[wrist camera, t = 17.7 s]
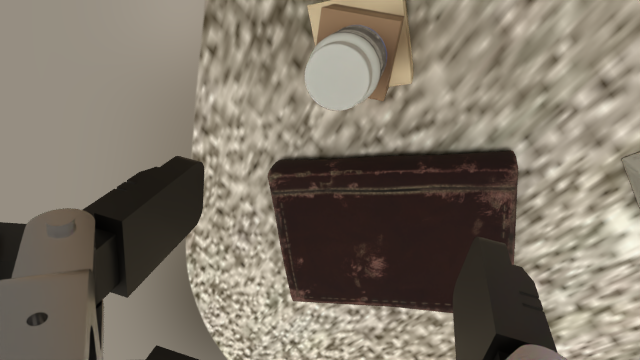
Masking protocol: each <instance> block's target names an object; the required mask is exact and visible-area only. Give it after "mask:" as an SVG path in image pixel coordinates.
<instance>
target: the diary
mask: <svg viewBox="0 0 640 360" xmlns="http://www.w3.org/2000/svg"><path fill="white" fill-rule="evenodd" d="M268 180H269V185H270V190H271V195H272V200H273V205H274V210H275V216H276V222H277V228H278V234H279V240H280V245H281V250H282V255H283V260H284V266H285V271H286V275H287V279H288V284H289V288H290V293H291V297H292V300H293V301H300V302H318V303H336V304H354V305H372V306H391V307H401V308H410V309H419V310H429V311H438V312H448V313H453V293H454V288H455V284H456V281H457V278H458V276H459V273H460V271H461V269H462V266H463V264H464V261H465V259H466V256H467V254H468V252H469V249H470V247H471V244H472V242H473V240H474V239H475V238H476V237H482V238H485V239H489V240H493V241H497V242H500V243H504V244H506V246H507V249H508V253H509V257H510V260H511V264H512V265H514V249H515V226H516V203H517V180H518V165H517V160H516V156H515V154H514V152H513V151H499V152H481V153H464V154H446V155H406V156H374V157H358V158H342V159H314V160H280V161H278V162H276V163H275V164H274V165H273V166H272V168H271V169H270V171H269V173H268Z"/></svg>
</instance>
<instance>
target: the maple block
mask: <svg viewBox="0 0 640 360" xmlns="http://www.w3.org/2000/svg"><path fill="white" fill-rule="evenodd" d="M331 4H340V5H346V6H351V7H357V8H362V9H368V10H374V11H379V12H385V13H390V14H396V15H401V16H405V17H404V21H403V26H402V30H401V34H400V39H399V43H398V48H397V52H396V57H395V61H394V66H393V70H392V75H391V79H390V83H389V87H391V86H398V85H405V84H412V79H413V74H414V71H413V62H412V52H411V43H410V34H409V25H408V16H407V7H406V0H331V1H326V2H321V3H317V4H312V5H308V11H309V16H310V22H311V27H312V32H313V37H314V42H315V47H316V44H317V36H318V29H319V22H320V14H321V7H324V6H328V5H331Z"/></svg>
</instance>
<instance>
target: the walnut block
mask: <svg viewBox="0 0 640 360" xmlns="http://www.w3.org/2000/svg"><path fill="white" fill-rule="evenodd" d="M404 17H405V16H401V15H396V14H390V13H385V12H379V11H374V10H368V9H362V8H357V7H351V6H346V5H340V4H331V5H328V6H324V7H321V14H320V22H319V29H318V36H317V44H318V43H319V42H320V41H322V40H323V39H324V38H326V37H328V36H329V35H331V34H333V33H335V32H337V31H338V30H340V29H342V28H344V27H347V26H351V25H363V26H366V27H369V28H371V29H373V30H374V31H375V32H377V33H378V34H379V36H380V37H381V38H382V40H383V42H384V44H385V46H386V50H387V62H386V66H385V69H384V71H383V73H382V75H381V78H380V80H379V82H378V84H377V87H376V89H375V90H374V92H373V93H372V94H371V95H370V96H369V97H368V98H371V99H376V100H380V101H384V98H385V96H386V93H387V90H388V87H389V83H390V79H391V75H392V70H393V66H394V61H395V57H396V52H397V48H398V43H399V39H400V34H401V30H402V26H403V21H404ZM317 44H316V45H317Z"/></svg>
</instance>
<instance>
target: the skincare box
mask: <svg viewBox="0 0 640 360" xmlns="http://www.w3.org/2000/svg"><path fill="white" fill-rule="evenodd" d="M622 162H623V165H624V167H625V170H626V173H627V175H628V178H629V181H630V183H631V186H632V189H633V191H634V194H635V197H636V200H637V202H638V205H639V208H640V152H639V153H636V154H633V155H630V156H628V157H625V158H622Z"/></svg>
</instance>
